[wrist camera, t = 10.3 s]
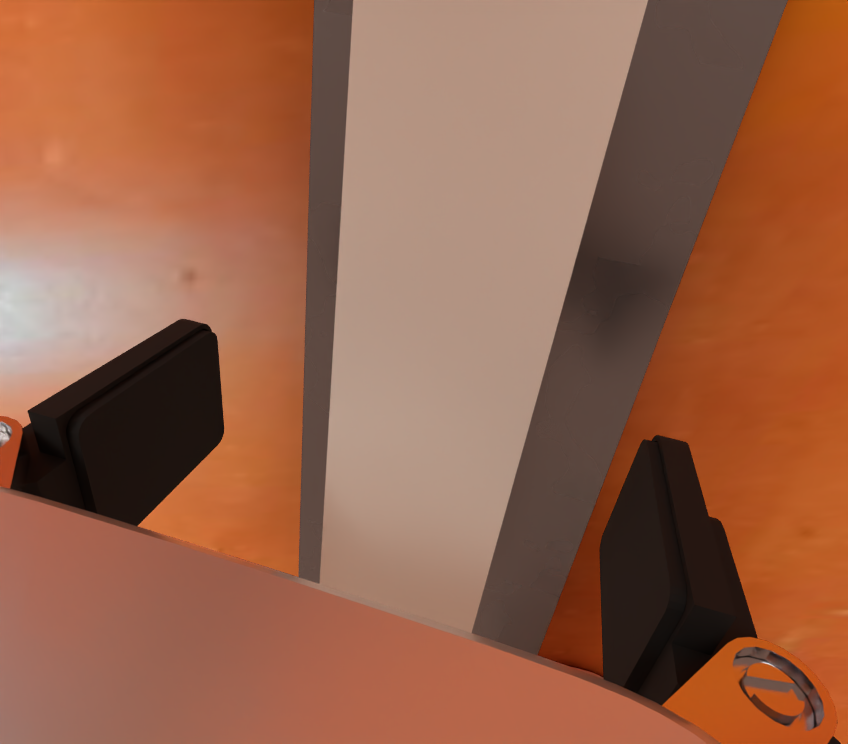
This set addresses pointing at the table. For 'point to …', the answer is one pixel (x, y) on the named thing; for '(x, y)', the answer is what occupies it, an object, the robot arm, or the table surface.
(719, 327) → the table surface
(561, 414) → the grey base board
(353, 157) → the white peg bar
